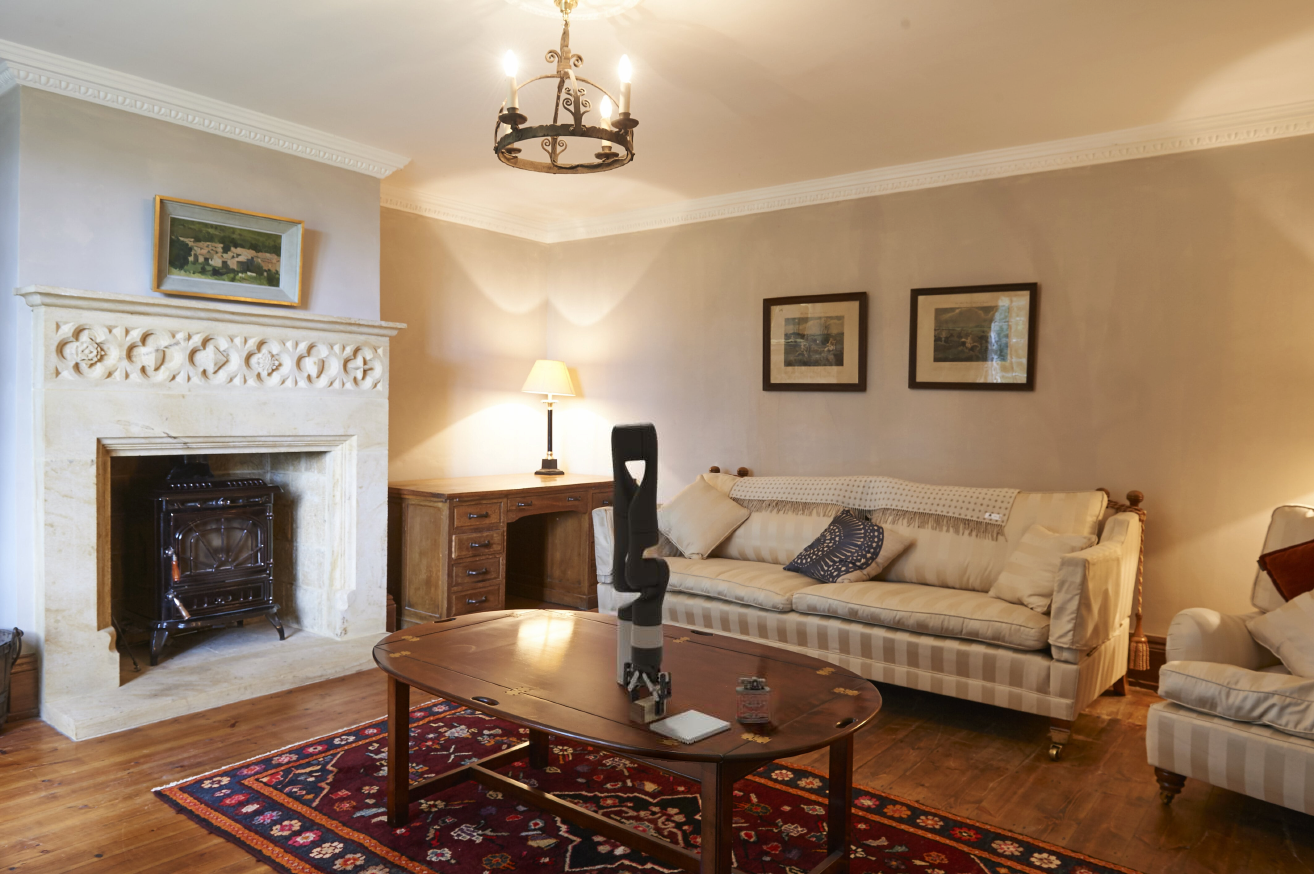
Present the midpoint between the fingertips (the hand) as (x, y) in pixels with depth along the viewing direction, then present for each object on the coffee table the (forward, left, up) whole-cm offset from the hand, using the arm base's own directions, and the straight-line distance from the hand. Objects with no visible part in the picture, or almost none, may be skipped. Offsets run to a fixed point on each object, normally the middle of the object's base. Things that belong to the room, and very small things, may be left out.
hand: (646, 710), depth 194 cm
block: (0, 0, -2) cm, 2 cm away
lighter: (-17, +18, -2) cm, 25 cm away
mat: (-3, +11, -2) cm, 12 cm away
